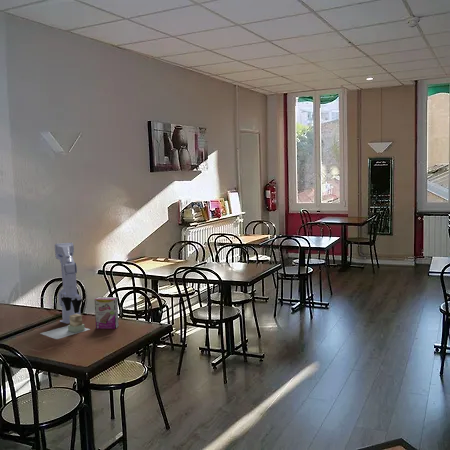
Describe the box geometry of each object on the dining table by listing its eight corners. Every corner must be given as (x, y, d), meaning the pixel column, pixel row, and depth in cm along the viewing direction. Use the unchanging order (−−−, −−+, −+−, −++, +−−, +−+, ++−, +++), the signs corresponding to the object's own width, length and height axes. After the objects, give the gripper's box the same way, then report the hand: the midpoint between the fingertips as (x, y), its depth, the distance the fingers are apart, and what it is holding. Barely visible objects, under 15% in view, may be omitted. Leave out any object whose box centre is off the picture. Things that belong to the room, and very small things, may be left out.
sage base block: (78, 327, 280) (77, 322, 279) (84, 329, 276) (84, 324, 275) (68, 330, 275) (67, 325, 275) (74, 332, 271) (74, 327, 271)
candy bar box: (95, 329, 278) (93, 299, 276) (98, 326, 282) (97, 296, 281) (116, 329, 276) (114, 299, 275) (119, 326, 281) (117, 296, 280)
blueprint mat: (73, 324, 287) (73, 324, 287) (90, 330, 277) (90, 329, 277) (39, 334, 272) (39, 333, 272) (56, 340, 262) (56, 339, 262)
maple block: (77, 323, 278) (76, 313, 278) (82, 324, 275) (81, 315, 275) (69, 325, 275) (69, 315, 274) (74, 326, 272) (74, 317, 271)
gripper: (56, 285, 276) (58, 311, 277) (72, 289, 266) (73, 315, 268) (68, 283, 281) (69, 308, 282) (84, 286, 271) (85, 312, 273)
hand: (72, 311), depth 275 cm, fingers open, 7 cm apart
